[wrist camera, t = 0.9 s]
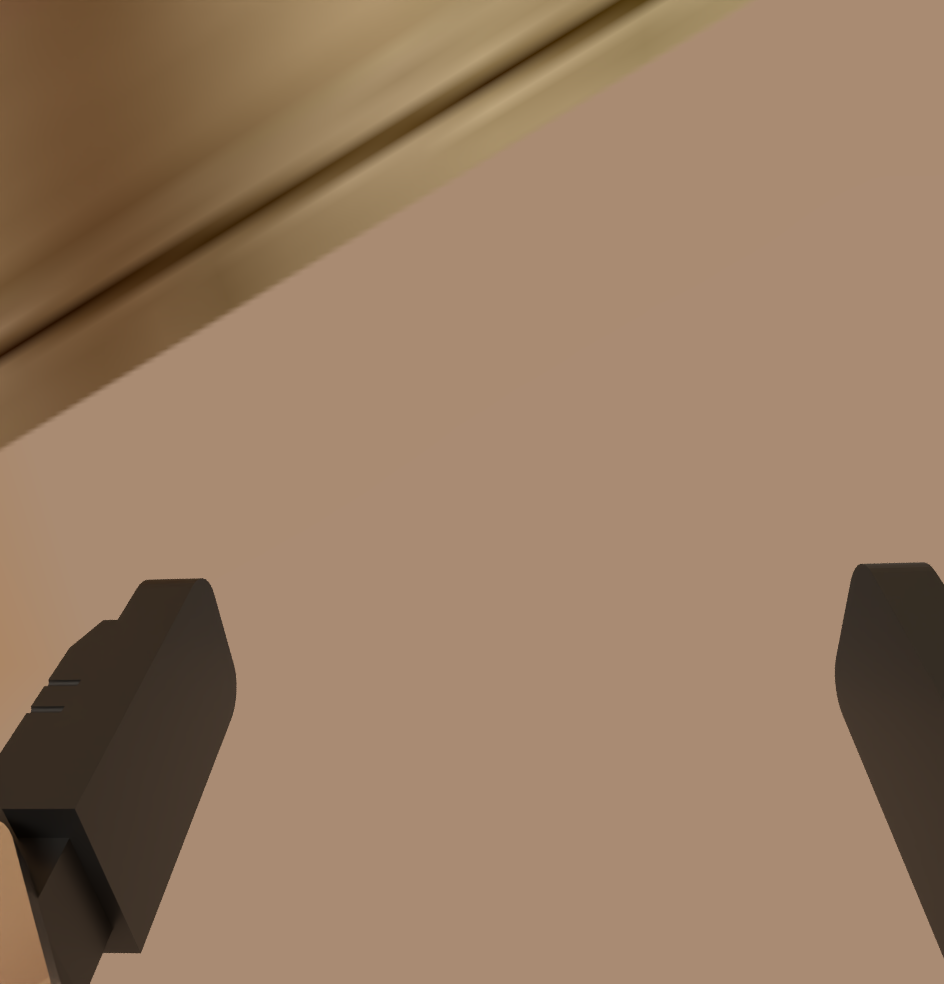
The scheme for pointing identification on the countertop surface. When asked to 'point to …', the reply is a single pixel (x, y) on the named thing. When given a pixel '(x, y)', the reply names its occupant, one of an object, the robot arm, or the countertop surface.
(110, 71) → the countertop surface
